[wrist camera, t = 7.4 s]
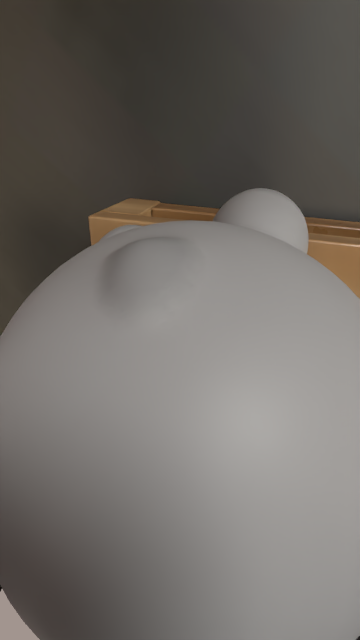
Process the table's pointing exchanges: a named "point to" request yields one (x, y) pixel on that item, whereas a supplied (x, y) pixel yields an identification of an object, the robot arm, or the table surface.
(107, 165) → the table surface
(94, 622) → the round bodied animal figurine
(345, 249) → the wooden pallet
